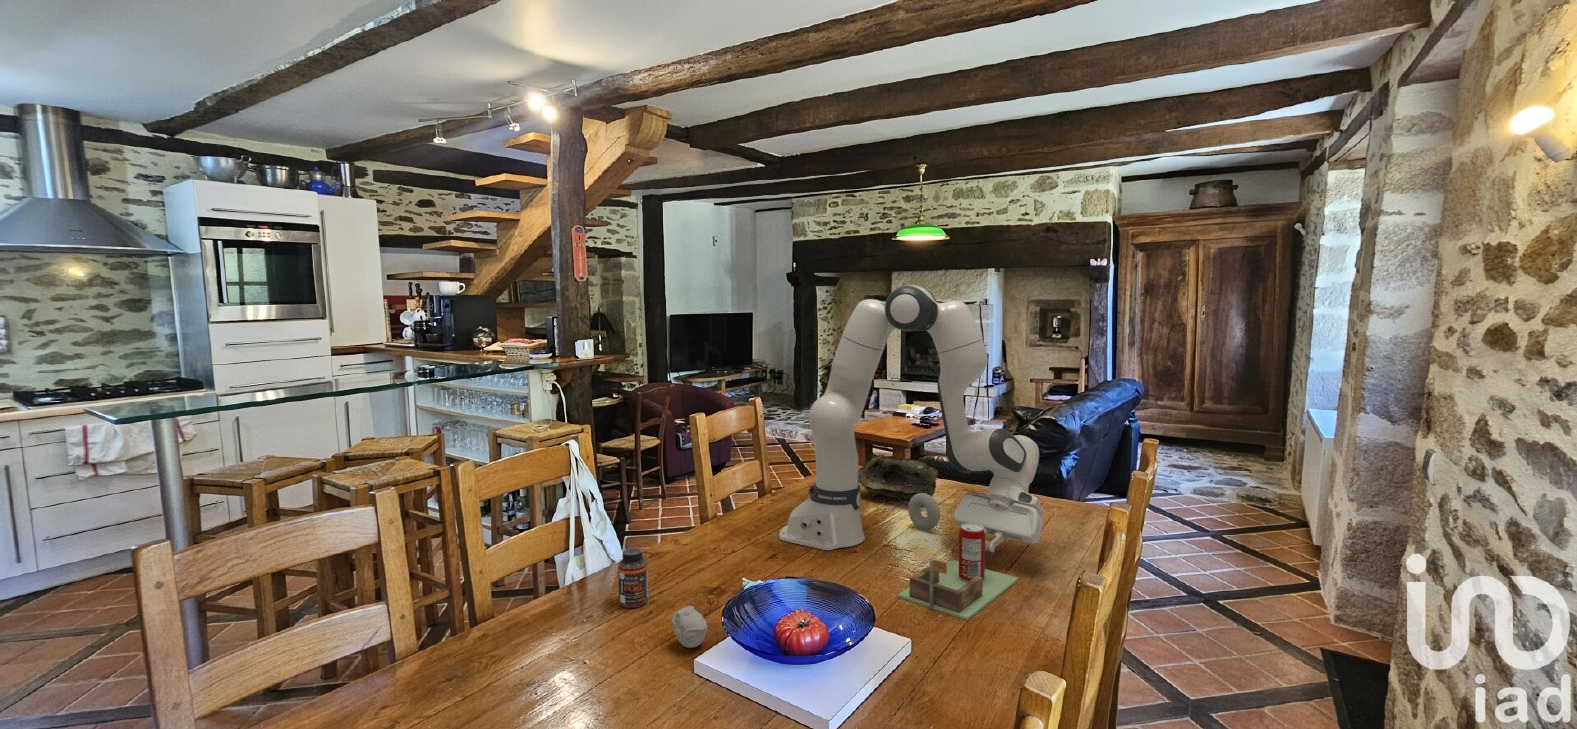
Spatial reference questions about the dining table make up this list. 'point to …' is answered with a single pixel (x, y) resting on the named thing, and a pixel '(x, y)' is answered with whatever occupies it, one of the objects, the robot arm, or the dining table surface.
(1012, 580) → the felt mat
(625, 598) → the supplement bottle
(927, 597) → the pocket
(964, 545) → the soda can
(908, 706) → the dining table surface
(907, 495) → the hollow geode rock
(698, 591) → the dining table surface
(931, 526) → the donut
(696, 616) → the frog figurine
